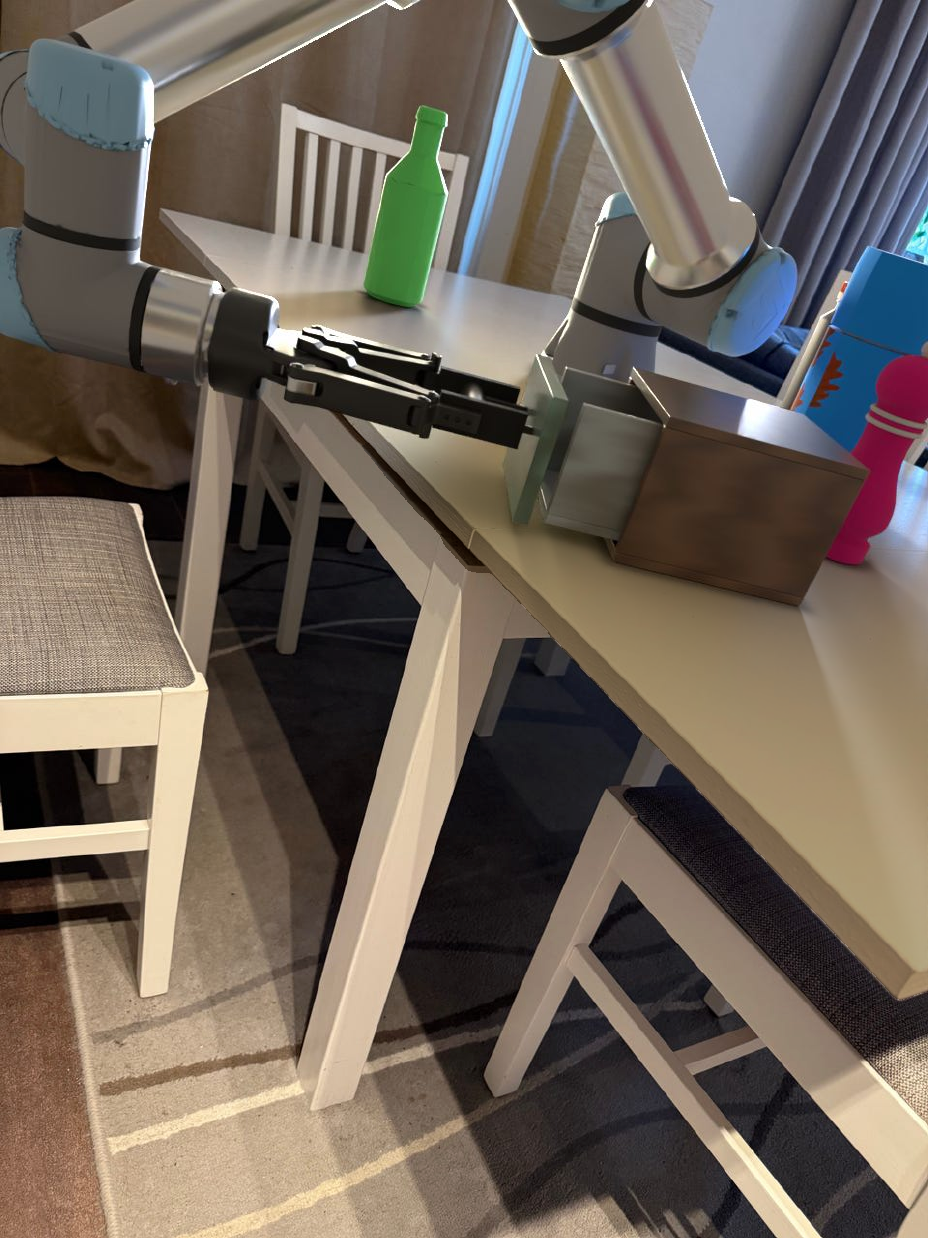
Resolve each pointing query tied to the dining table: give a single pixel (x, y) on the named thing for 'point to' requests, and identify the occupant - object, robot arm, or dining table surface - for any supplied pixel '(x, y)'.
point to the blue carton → (865, 343)
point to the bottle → (409, 217)
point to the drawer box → (736, 493)
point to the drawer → (577, 449)
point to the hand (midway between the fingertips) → (518, 416)
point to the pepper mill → (884, 452)
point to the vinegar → (810, 354)
